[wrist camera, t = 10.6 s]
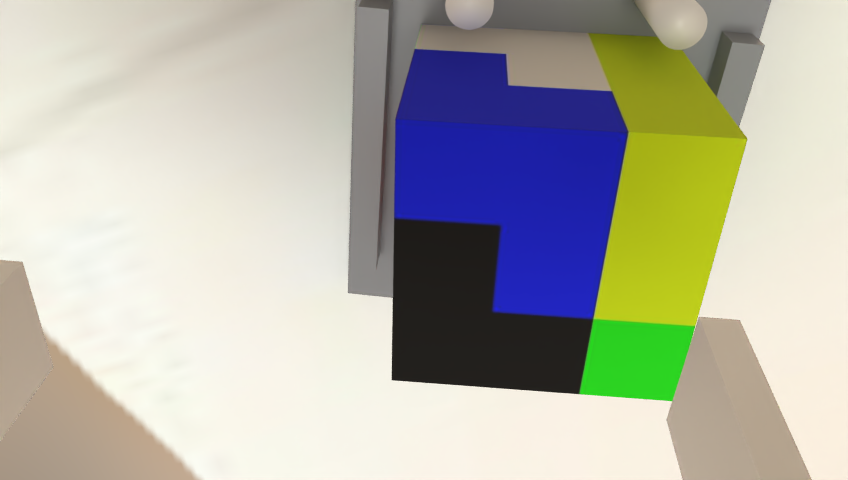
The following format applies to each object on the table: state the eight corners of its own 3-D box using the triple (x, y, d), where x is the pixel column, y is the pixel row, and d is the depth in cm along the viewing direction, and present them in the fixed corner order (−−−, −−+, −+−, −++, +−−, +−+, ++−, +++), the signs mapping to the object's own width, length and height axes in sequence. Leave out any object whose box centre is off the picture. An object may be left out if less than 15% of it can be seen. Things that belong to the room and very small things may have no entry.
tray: (362, -76, 29) (334, -46, 24) (770, -38, 29) (833, 1, 24) (351, 279, 38) (330, 358, 33) (664, 311, 38) (693, 397, 33)
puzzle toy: (421, 24, 30) (395, 118, 22) (672, 37, 30) (747, 138, 21) (414, 236, 35) (391, 380, 27) (628, 250, 35) (674, 401, 26)
